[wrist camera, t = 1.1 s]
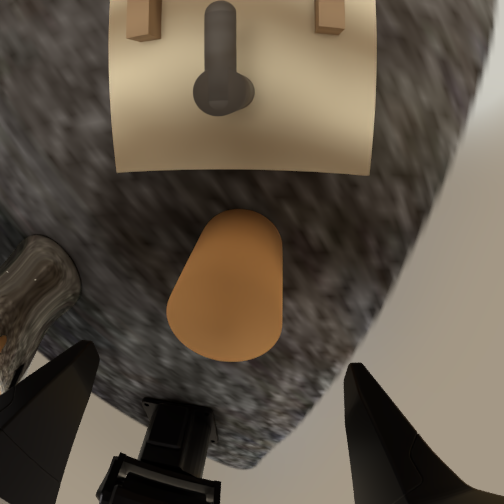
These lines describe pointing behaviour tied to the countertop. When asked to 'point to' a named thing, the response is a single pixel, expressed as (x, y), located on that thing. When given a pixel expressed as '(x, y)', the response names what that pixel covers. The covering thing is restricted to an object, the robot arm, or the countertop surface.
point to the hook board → (287, 100)
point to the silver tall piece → (32, 302)
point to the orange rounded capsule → (231, 289)
